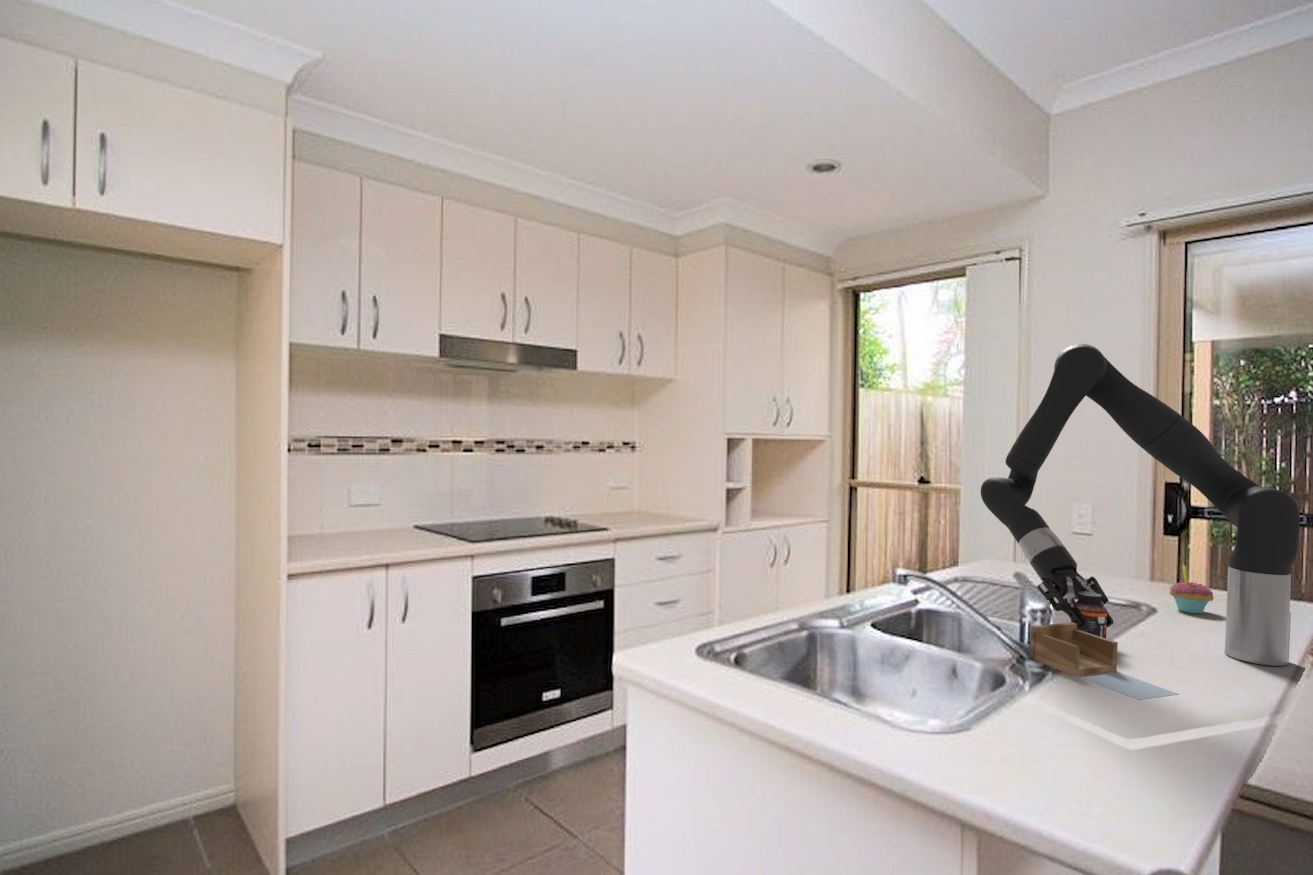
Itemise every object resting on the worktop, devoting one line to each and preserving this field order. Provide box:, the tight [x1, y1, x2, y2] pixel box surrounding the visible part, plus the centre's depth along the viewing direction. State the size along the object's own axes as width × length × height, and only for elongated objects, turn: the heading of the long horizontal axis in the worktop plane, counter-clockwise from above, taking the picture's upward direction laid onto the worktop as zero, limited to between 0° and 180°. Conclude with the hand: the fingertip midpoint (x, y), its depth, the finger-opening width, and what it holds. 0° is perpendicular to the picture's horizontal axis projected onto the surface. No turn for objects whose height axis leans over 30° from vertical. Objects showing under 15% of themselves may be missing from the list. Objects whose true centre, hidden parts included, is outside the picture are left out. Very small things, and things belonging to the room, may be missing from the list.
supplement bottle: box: [1070, 592, 1108, 639], centre depth 136 cm, size 6×6×11 cm
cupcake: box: [1169, 561, 1214, 615], centre depth 170 cm, size 9×8×12 cm
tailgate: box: [1080, 672, 1178, 701], centre depth 115 cm, size 9×1×10 cm
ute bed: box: [1030, 622, 1119, 677], centre depth 125 cm, size 10×9×7 cm
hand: (1097, 626), depth 134 cm, fingers closed on supplement bottle, 6 cm apart
